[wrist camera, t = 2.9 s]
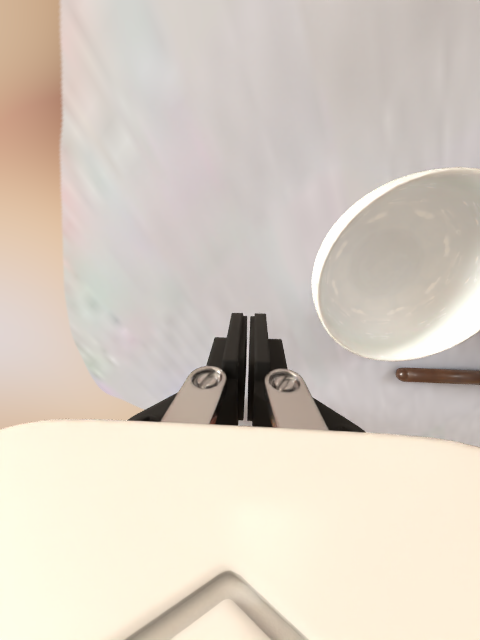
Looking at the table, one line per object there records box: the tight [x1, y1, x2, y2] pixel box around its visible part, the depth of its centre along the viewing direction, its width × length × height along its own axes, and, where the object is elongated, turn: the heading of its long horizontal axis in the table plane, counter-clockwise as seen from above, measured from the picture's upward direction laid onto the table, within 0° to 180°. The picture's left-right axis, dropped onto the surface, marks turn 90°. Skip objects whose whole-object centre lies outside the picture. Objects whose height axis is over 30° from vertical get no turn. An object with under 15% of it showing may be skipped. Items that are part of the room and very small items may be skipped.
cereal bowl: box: [312, 167, 480, 361], centre depth 23 cm, size 17×17×7 cm
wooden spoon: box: [396, 368, 480, 385], centre depth 31 cm, size 20×5×2 cm, turn 90°
